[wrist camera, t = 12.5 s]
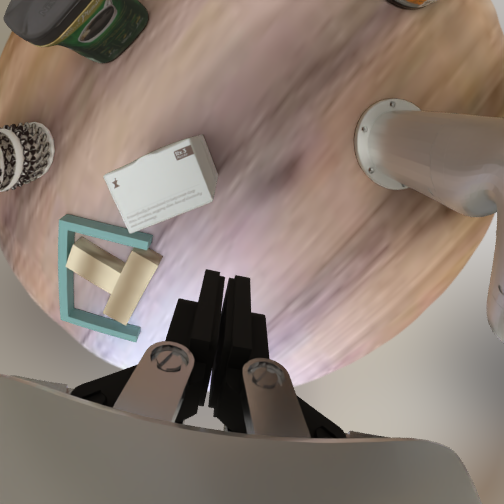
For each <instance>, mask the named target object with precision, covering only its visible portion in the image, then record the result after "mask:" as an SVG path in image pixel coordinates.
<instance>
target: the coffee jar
mask: <svg viewBox="0 0 504 504" xmlns="http://www.w3.org/2000/svg"><path fill="white" fill-rule="evenodd" d="M4 21H5V23H6V24H7V26H8V27H9V28H10V29H11V30H12V31H13V32H14V33H15V34H17V35H18V36H20V37H21V38H23V39H24V40H26V41H28V42H30V43H31V44H33V45H35V46H38V47H50V46H54V45H61V46H64V47H67V48H69V49H71V50H73V51H75V52H77V53H79V54H80V55H82V56H84V57H86V58H88V59H90V60H92V61H95V62H98V63H107V62H110V61H112V60H113V59H115V58H116V57H117V56H118V55H120V54H121V53H122V52H123V51H124V50H125V49H126V48H127V47H128V46H129V45H130V44H131V43H132V42H133V41H134V40H135V38H136V37H137V36H138V35H139V34H140V33H141V31H142V30H143V29H144V27H145V26H146V24H147V21H148V12H147V10H146V8H145V7H144V6H143V5H142V4H141V3H140V2H139V1H138V0H11V2H10V4H9V5H8V8H7V10H6V13H5V15H4Z"/></svg>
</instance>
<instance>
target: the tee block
mask: <svg viewBox="0 0 504 504" xmlns="http://www.w3.org/2000/svg"><path fill="white" fill-rule="evenodd" d="M161 259H162V255H160V254H158V253H156V252H155V251H153V250H151V249H149V248H148V250H144V249H139V248H135V247H134V248H133V250H132V252H131V254H130V256H129V258H128V260H127V262H126V263H125V262H123V261H121V260H120V259H118V258H116V257H115V256H113V255H111V254H110V253H108V252H106V251H105V250H103V249H101V248H100V247H98V246H96V245H95V244H93V243H91V242H90V241H88V240H87V239H85V238H83V237H81V238H80V239H78V240H77V241H76V242H75V243H74V244H73V246H72V249H71V252H70V255H69V257H68V260H67V263H66V266H65V267H67V268H69V269H70V270H72V271H73V272H75V273H77V274H78V275H80V276H81V277H83V278H85V279H86V280H88V281H90V282H91V283H93V284H95V285H96V286H98V287H100V288H101V289H103V290H105V291H106V292H108V293H110V294H111V296H110V298H109V300H108V302H107V305H106V307H105V309H104V311H103V313H104V314H106V315H107V316H109V317H111V318H113V319H114V320H116V321H118V322H120V323H122V324H123V325H125V326H126V324H127V322H128V321H129V319H130V317H131V315H132V313H133V311H134V309H135V307H136V305H137V303H138V302H139V300H140V298H141V296H142V294H143V292H144V290H145V289H146V287H147V285H148V283H149V281H150V279H151V278H152V276H153V274H154V272H155V271H156V269H157V267H158V265H159V263H160V261H161Z"/></svg>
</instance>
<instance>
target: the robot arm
mask: <svg viewBox="0 0 504 504" xmlns="http://www.w3.org/2000/svg"><path fill="white" fill-rule="evenodd" d="M390 103H391V106H390ZM362 127H363V131H362V130H361V128H362ZM354 147H355V153H356V157H357V160H358V163H359V165H360V167H361V168H362V170H363V172H364V173H365V174H366V175H367V176H368V178H370V179H371V180H372V181H373V182H375V183H376V184H378V185H380V186H382V187H384V188H387V189H392V190H403V189H406V188H412V189H414V190H416V191H418V192H420V193H422V194H424V195H426V196H428V197H430V198H432V199H433V200H435V201H437V202H439V203H441V204H443V205H445V206H447V207H448V208H450V209H452V210H454V211H456V212H458V213H460V214H463V215H465V216H469V217H484V216H487V215H491V214H493V213H496V212H497V231H496V236H497V237H496V245H495V253H494V260H493V266H492V272H491V278H490V285H489V290H488V297H487V318H488V322H489V325H490V327H491V329H492V331H493V332H494V334H495V335H496V337H497V338H498V339H499V340H500V341H502V342H503V343H504V118H499V117H487V116H477V115H468V114H458V113H446V112H433V111H422V110H421V109H420V108H419V107H417V106H416V105H414V104H413V103H411V102H408V101H406V100H402V99H385V100H381V101H379V102H376V103H374V104H373V105H372V106H370V107H369V108H368V109H367V110H366V111H365V112H364V113H363V115H362V116H361V118H360V120H359V122H358V125H357V127H356V131H355V137H354ZM369 168H370V171H368V169H369ZM401 183H402V184H401ZM224 281H225V277H223V276H220V272H217V271H212V270H207V269H206V271H205V275H204V279H203V284H202V288H201V292H200V297H199V301H198V302H194V301H189V300H184V299H180V298H179V299H178V302H177V305H176V308H175V311H174V315H173V318H172V321H171V324H170V327H169V331H168V334H167V337H166V340H165V341H162V342H158V343H155V344H153V345H151V346H150V347H149V348H148V349H147V350H146V352H145V354H144V355H143V357H142V359H141V360H140V362H139V364H138V365H135V366H133V367H130V368H127V369H124V370H122V371H119V372H116V373H113V374H111V375H107V376H105V377H102V378H99V379H96V380H93V381H90V382H87V383H84V384H82V385H80V386H78V387H76V388H75V389H71V388H68V386H67V385H66V384H60V383H53V382H47V381H41V380H36V379H30V378H25V377H20V376H9V375H4V374H0V504H482V503H481V500H480V498H479V495H478V493H477V490H476V488H475V485H474V483H473V481H472V479H471V477H470V475H469V473H468V471H467V469H466V467H465V465H464V464H463V462H462V461H461V459H460V458H459V456H458V455H457V454H456V453H455V452H454V451H453V450H452V449H450V448H449V447H447V446H445V445H442V444H440V443H436V442H432V441H429V440H423V439H415V438H390V437H384V436H376V435H371V434H365V433H359V432H354V431H349V432H348V434H347V433H344V432H343V430H342V429H341V428H340V427H338V426H337V425H336V424H335V423H333V422H332V421H330V420H329V419H328V418H326V417H325V416H323V415H322V414H321V413H319V412H318V411H317V410H315V409H314V408H313V407H311V406H310V405H309V404H307V403H306V402H305V401H303V400H302V399H301V398H299V397H298V396H297V395H296V393H295V390H294V387H293V385H292V382H291V379H290V376H289V374H288V372H287V370H286V369H285V368H284V367H283V366H282V365H281V364H279V363H277V362H276V361H273V360H270V359H269V350H268V339H267V328H266V318H265V315H263V314H257V313H251V293H250V278H247V277H242V276H237V275H235V278H234V279H233V278H229V281H228V285H227V289H226V294H225V298H224V302H223V307H222V299H223V290H224ZM221 308H222V311H221ZM211 371H212V376H211ZM210 376H211V385H210V395H209V405H208V407H211V408H214V417H217V418H218V419H219V420H220V421H221V422H222V423H223V424H224V431H220V430H213V429H206V428H201V427H195V426H189V425H184V422H185V419H187V418H189V417H191V416H193V415H195V414H196V413H197V410H198V405H199V406H204V402H205V398H206V393H207V389H208V384H209V380H210Z"/></svg>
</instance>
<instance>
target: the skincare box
mask: <svg viewBox="0 0 504 504" xmlns="http://www.w3.org/2000/svg"><path fill="white" fill-rule="evenodd" d="M104 179H105V181H106V184H107V186H108V188H109V191H110V193H111V195H112V197H113V199H114V202H115V204H116V206H117V208H118V210H119V212H120V214H121V216H122V218H123V220H124V223H125V225H126V227H127V229H128V231H129V233H130V234H131V233H134V232H136V231H139V230H141V229H144V228H147V227H149V226H152V225H154V224H157V223H160V222H162V221H165V220H167V219H170V218H172V217H175V216H177V215H180V214H182V213H185V212H188V211H190V210H193V209H195V208H198V207H200V206H203V205H205V204H208V203H210V202H212V201H213V198H214V193H215V188H216V184H217V179H218V173H217V171H216V168H215V165H214V163H213V160H212V157H211V155H210V152H209V149H208V147H207V144H206V141H205V139H204V136H203V135H198V136H195V137H191V138H187V139H184V140H181V141H178V142H175V143H172V144H169V145H167V146H164V147H162V148H160V149H158V150H155V151H153V152H151V153H149V154H147V155H145V156H143V157H141V158H139V159H137V160H135V161H133V162H131V163H129V164H127V165H125V166H123V167H121V168H118V169H116V170H114V171H112V172H109V173H107V174H105V175H104Z"/></svg>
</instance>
